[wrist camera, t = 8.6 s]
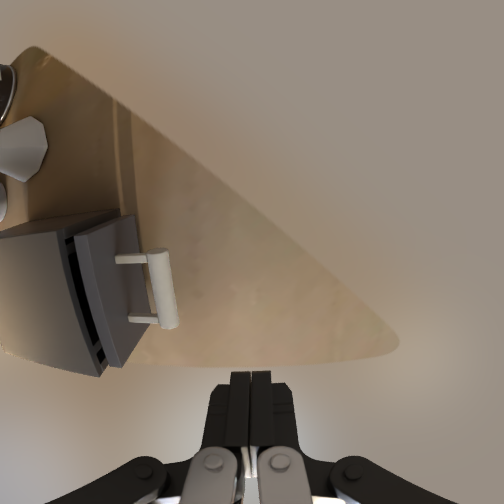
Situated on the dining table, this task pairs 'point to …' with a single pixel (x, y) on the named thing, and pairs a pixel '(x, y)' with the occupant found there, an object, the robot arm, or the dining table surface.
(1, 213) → the lotion bottle
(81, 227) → the cabinet
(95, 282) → the drawer
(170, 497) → the robot arm
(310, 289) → the dining table surface
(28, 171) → the flask
